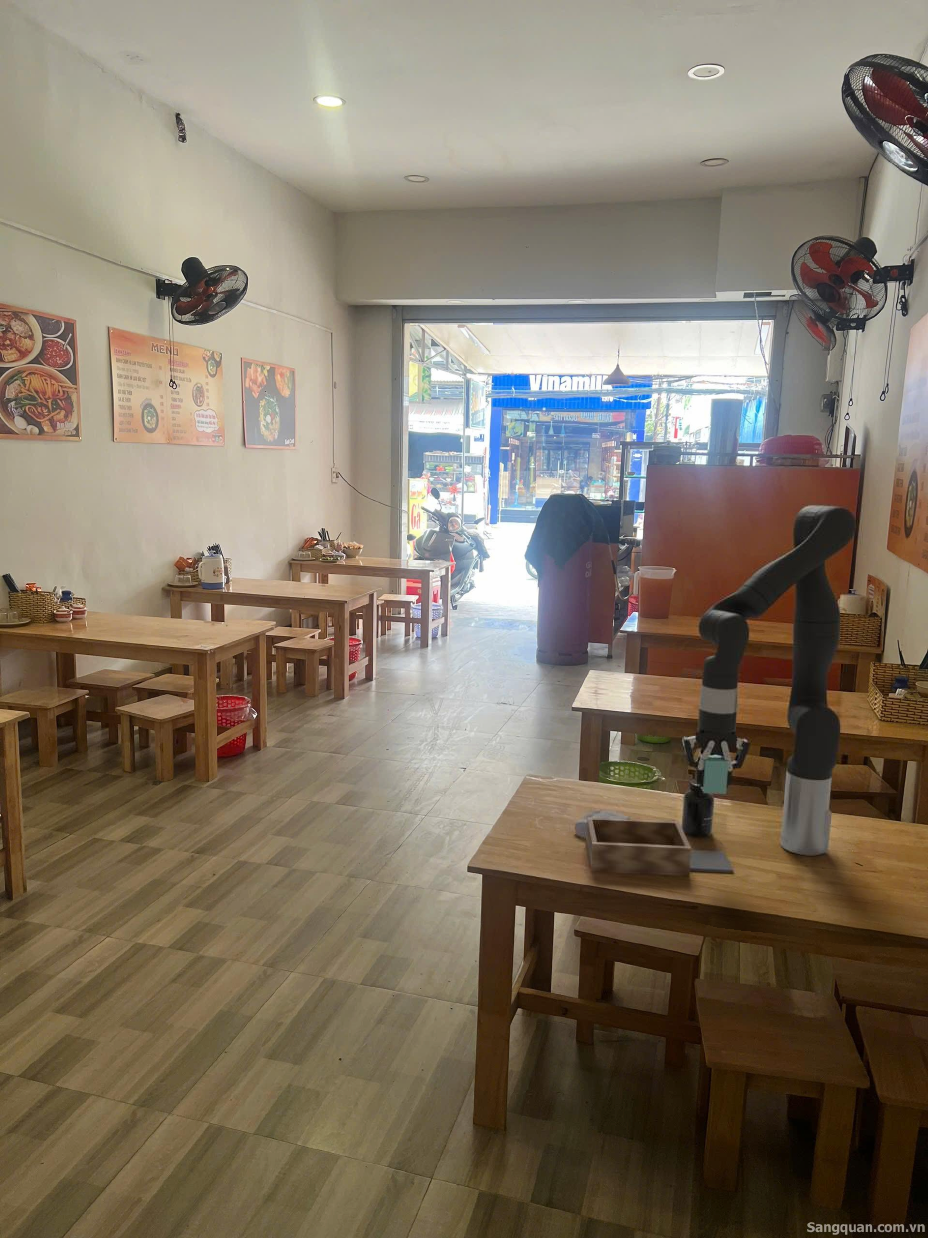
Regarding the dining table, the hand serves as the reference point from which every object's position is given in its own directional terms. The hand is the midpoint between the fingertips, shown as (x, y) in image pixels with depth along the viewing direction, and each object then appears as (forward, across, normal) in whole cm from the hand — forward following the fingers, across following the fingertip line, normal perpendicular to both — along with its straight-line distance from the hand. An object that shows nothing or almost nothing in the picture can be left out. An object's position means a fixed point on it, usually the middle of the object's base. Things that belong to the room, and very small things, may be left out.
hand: (712, 785), depth 183 cm
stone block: (+18, +21, -14) cm, 31 cm away
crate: (+17, +15, 0) cm, 23 cm away
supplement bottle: (+17, -1, -16) cm, 24 cm away
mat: (+17, 0, 0) cm, 17 cm away
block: (+1, 0, 0) cm, 1 cm away
